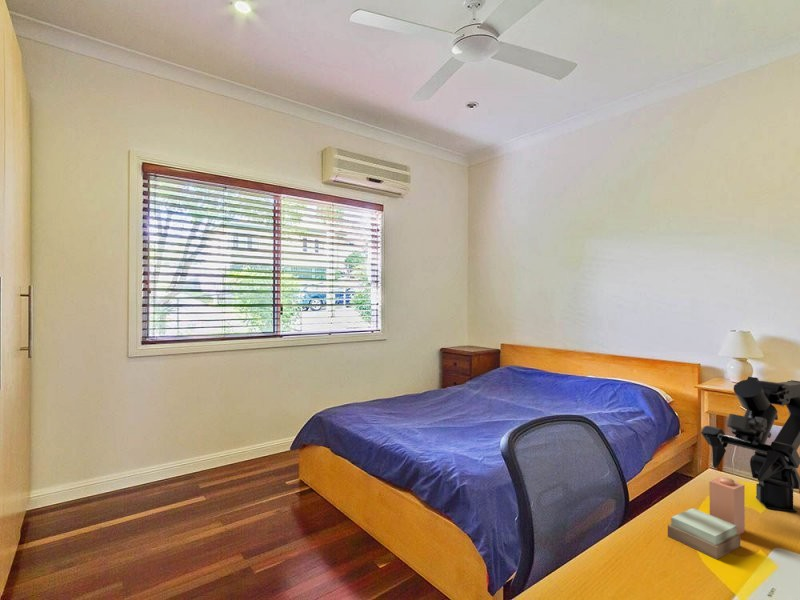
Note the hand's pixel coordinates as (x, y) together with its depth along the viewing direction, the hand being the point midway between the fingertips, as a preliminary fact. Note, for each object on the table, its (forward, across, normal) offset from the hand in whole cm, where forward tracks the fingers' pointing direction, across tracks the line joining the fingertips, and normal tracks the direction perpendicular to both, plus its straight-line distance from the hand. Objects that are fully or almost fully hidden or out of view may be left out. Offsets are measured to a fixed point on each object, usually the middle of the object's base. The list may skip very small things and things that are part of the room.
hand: (735, 473), depth 102 cm
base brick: (+19, 0, -2) cm, 19 cm away
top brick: (+12, 0, +6) cm, 13 cm away
